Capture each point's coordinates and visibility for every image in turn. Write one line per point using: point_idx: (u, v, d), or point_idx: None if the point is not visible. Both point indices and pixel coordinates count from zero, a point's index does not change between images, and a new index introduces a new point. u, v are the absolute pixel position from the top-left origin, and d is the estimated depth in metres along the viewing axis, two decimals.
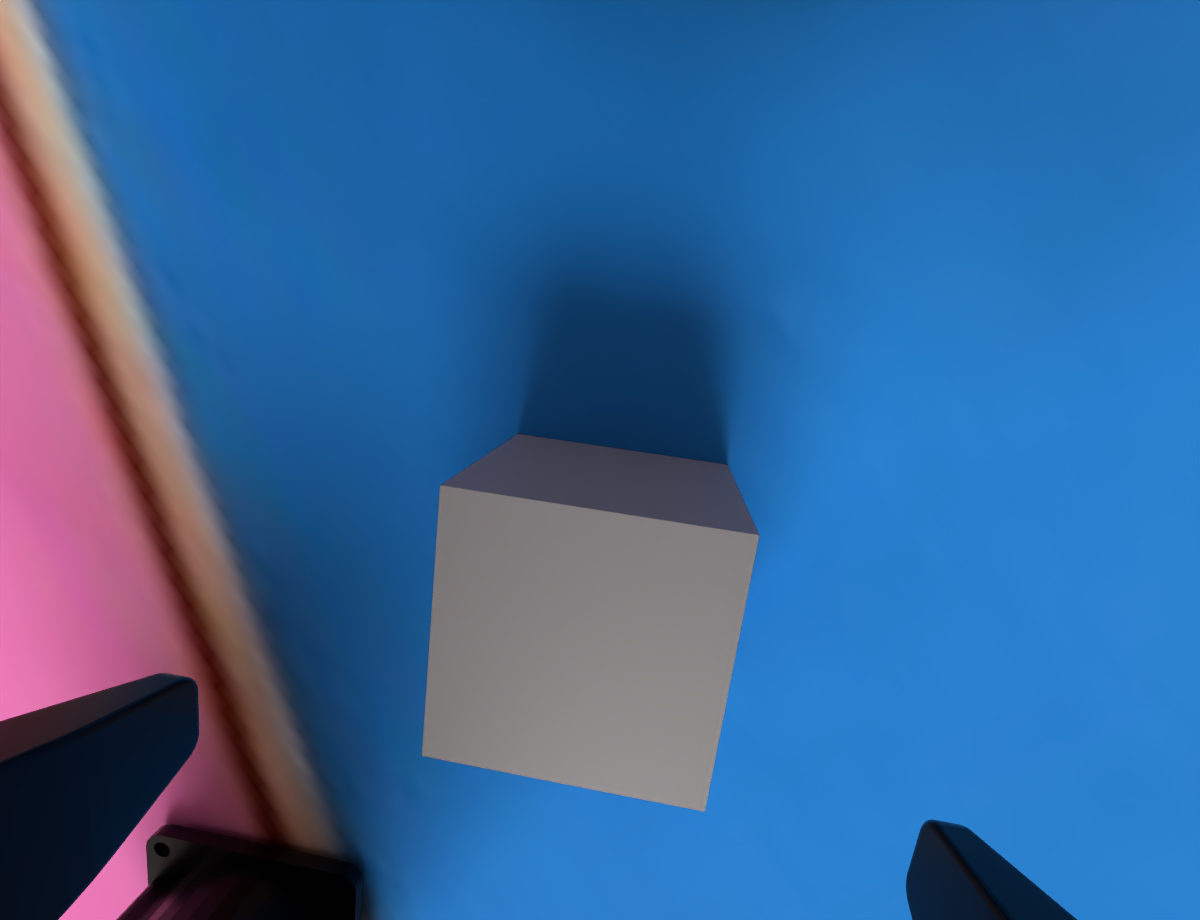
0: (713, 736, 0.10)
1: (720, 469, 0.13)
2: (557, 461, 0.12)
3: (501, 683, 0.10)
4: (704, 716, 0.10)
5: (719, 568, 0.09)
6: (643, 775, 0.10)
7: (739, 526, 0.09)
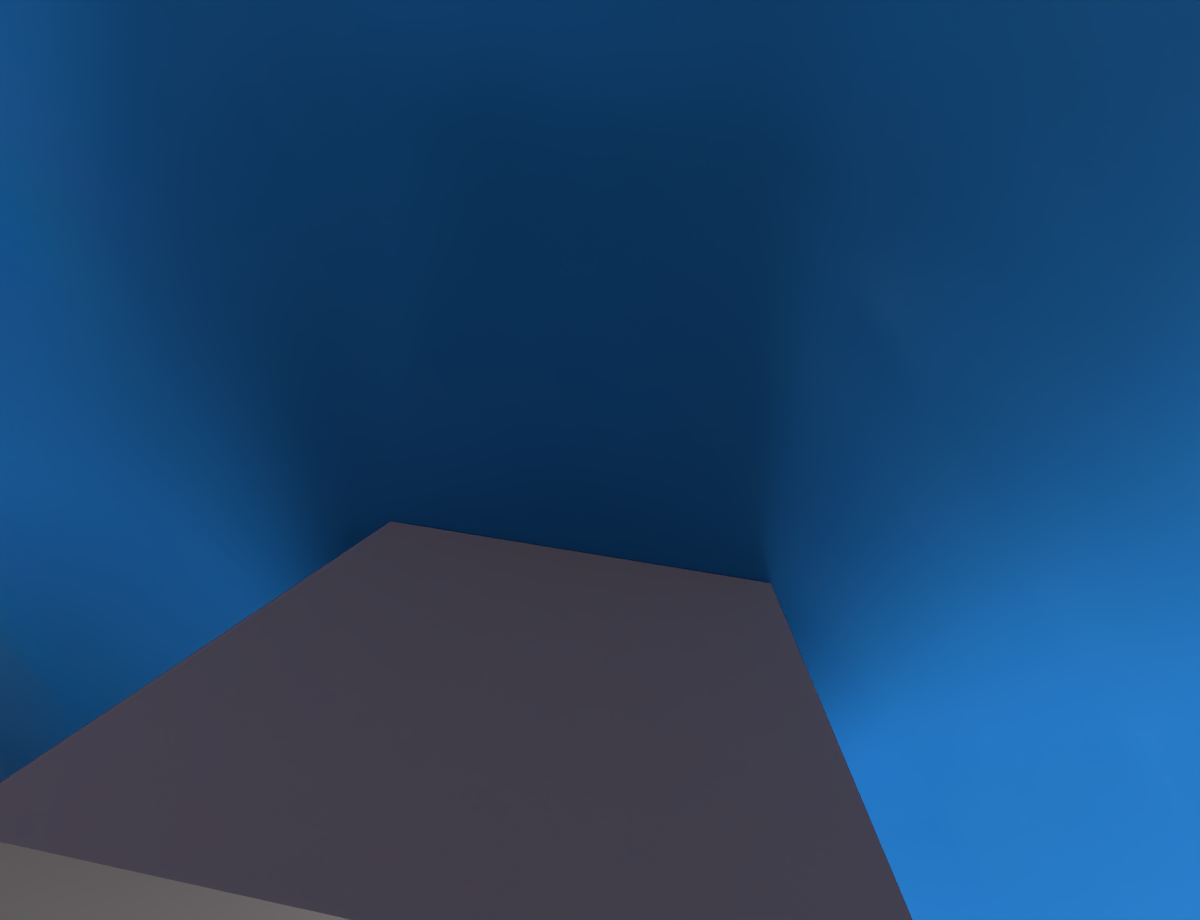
0: None
1: (762, 606, 0.07)
2: (420, 618, 0.05)
3: None
4: None
5: None
6: None
7: None
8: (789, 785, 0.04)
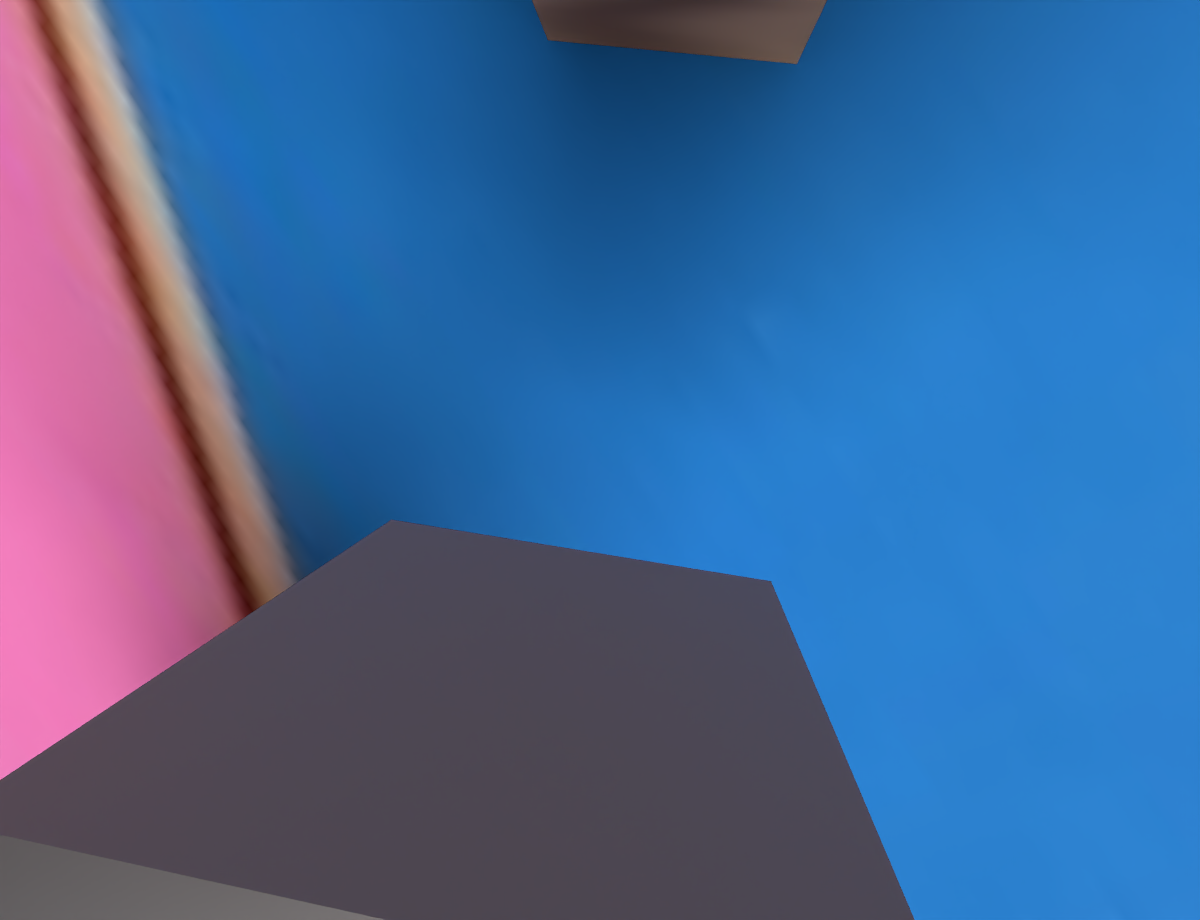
0: None
1: (762, 604, 0.07)
2: (422, 615, 0.06)
3: None
4: None
5: None
6: None
7: None
8: (789, 781, 0.04)
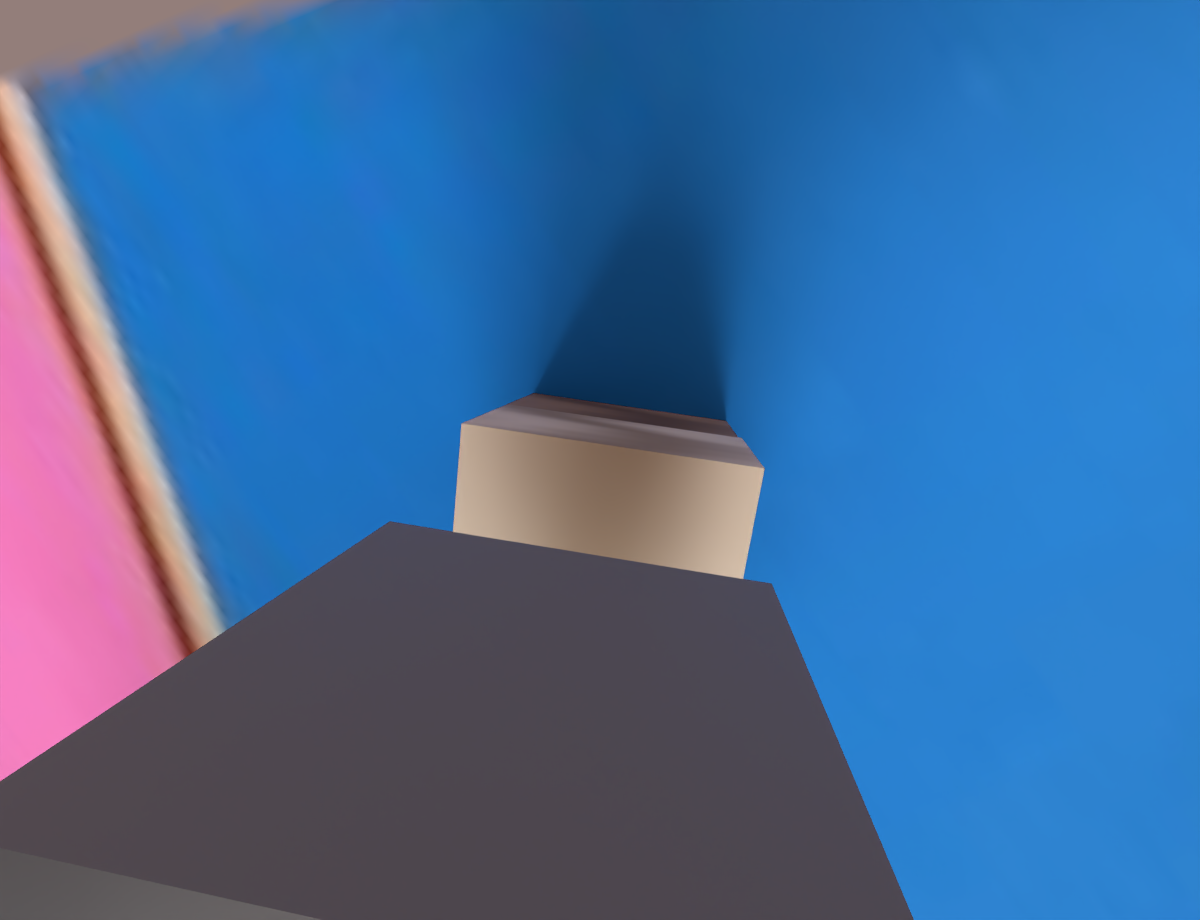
0: None
1: (763, 607, 0.07)
2: (419, 618, 0.05)
3: None
4: None
5: None
6: None
7: None
8: (790, 788, 0.04)
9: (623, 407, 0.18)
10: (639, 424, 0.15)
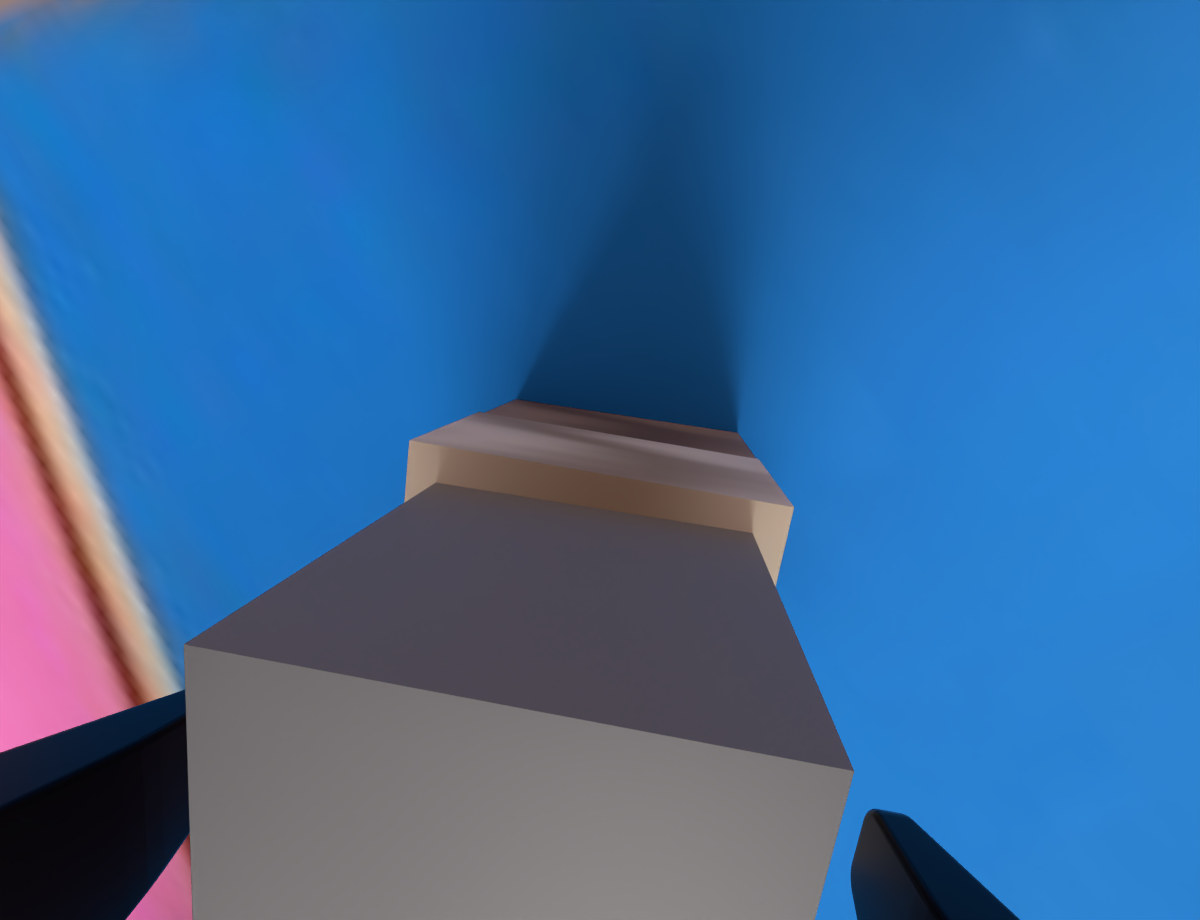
0: None
1: (743, 547, 0.08)
2: (473, 546, 0.07)
3: None
4: None
5: (764, 831, 0.04)
6: None
7: (805, 738, 0.04)
8: (754, 649, 0.06)
9: (618, 417, 0.15)
10: (636, 440, 0.12)
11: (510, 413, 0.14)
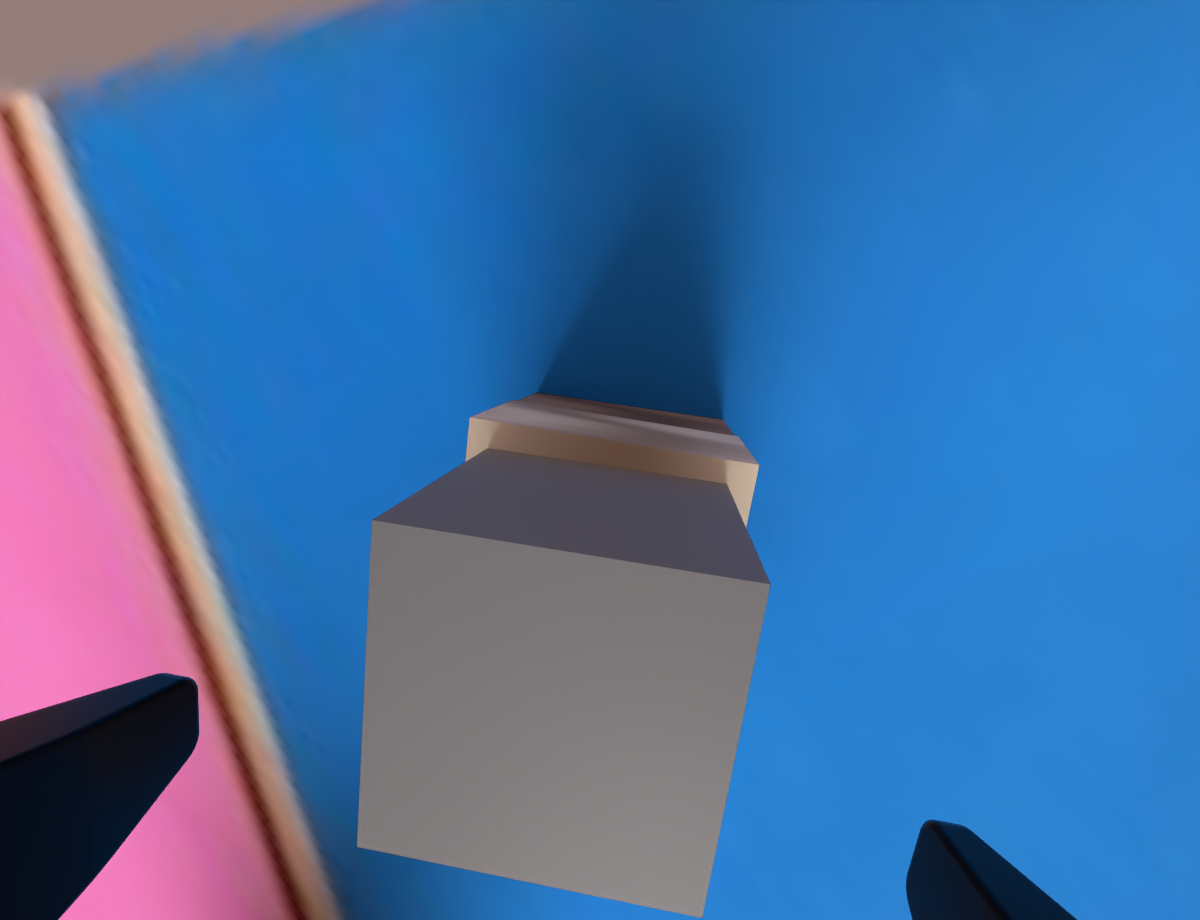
0: (712, 828, 0.08)
1: (719, 491, 0.11)
2: (527, 483, 0.10)
3: (452, 761, 0.08)
4: (701, 804, 0.08)
5: (720, 624, 0.07)
6: (626, 875, 0.08)
7: (744, 572, 0.07)
8: (719, 537, 0.09)
9: (623, 406, 0.18)
10: (639, 421, 0.15)
11: (535, 402, 0.17)
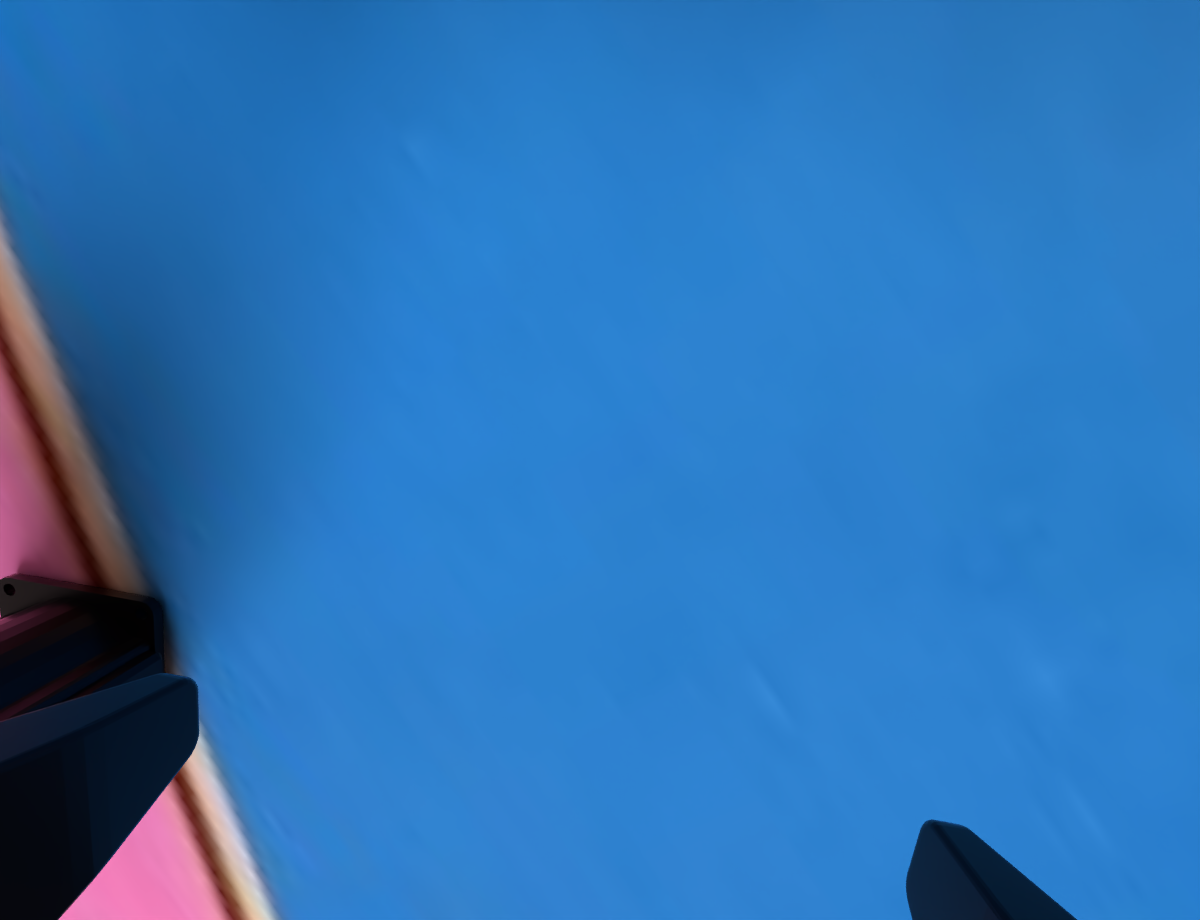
0: None
1: None
2: None
3: None
4: None
5: None
6: None
7: None
8: None
9: None
10: None
11: None
